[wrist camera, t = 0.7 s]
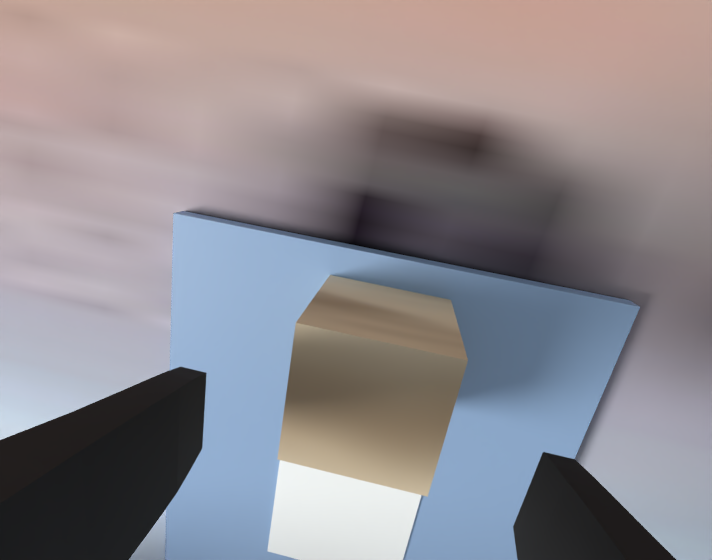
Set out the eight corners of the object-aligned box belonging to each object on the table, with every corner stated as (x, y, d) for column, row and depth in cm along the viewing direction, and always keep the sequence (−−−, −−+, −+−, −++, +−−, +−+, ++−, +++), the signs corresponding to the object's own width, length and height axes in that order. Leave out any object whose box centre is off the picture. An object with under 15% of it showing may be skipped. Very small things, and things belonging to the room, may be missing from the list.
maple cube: (423, 404, 14) (427, 496, 10) (313, 378, 14) (277, 459, 10) (451, 299, 13) (468, 359, 9) (330, 274, 13) (295, 322, 9)
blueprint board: (456, 711, 19) (458, 730, 19) (170, 628, 20) (162, 644, 20) (629, 300, 12) (641, 308, 12) (183, 211, 14) (171, 213, 13)
